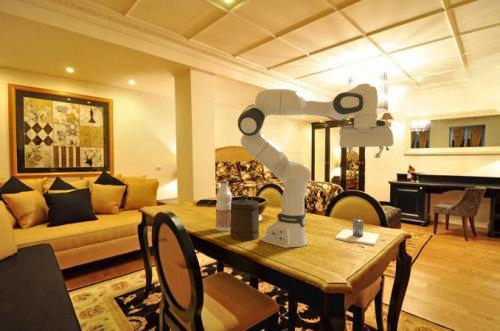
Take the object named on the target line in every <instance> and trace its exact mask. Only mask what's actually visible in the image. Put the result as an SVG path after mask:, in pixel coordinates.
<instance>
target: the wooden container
mask: <svg viewBox="0 0 500 331" xmlns="http://www.w3.org/2000/svg"><path fill="white" fill-rule="evenodd" d="M259 217H260V216H259V201H257V200H253V199H249V196H248V195H247V194H242V195H241V199H238V200H231V219H230V232H229V233H230V238H231V239H233V240H235V241H242V242H243V241H246V242H247V241H254V240H256V239H258V238H259V237H260V236H259V234H260V233H259V232H260V231H259V230H260V222H259Z"/></svg>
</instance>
